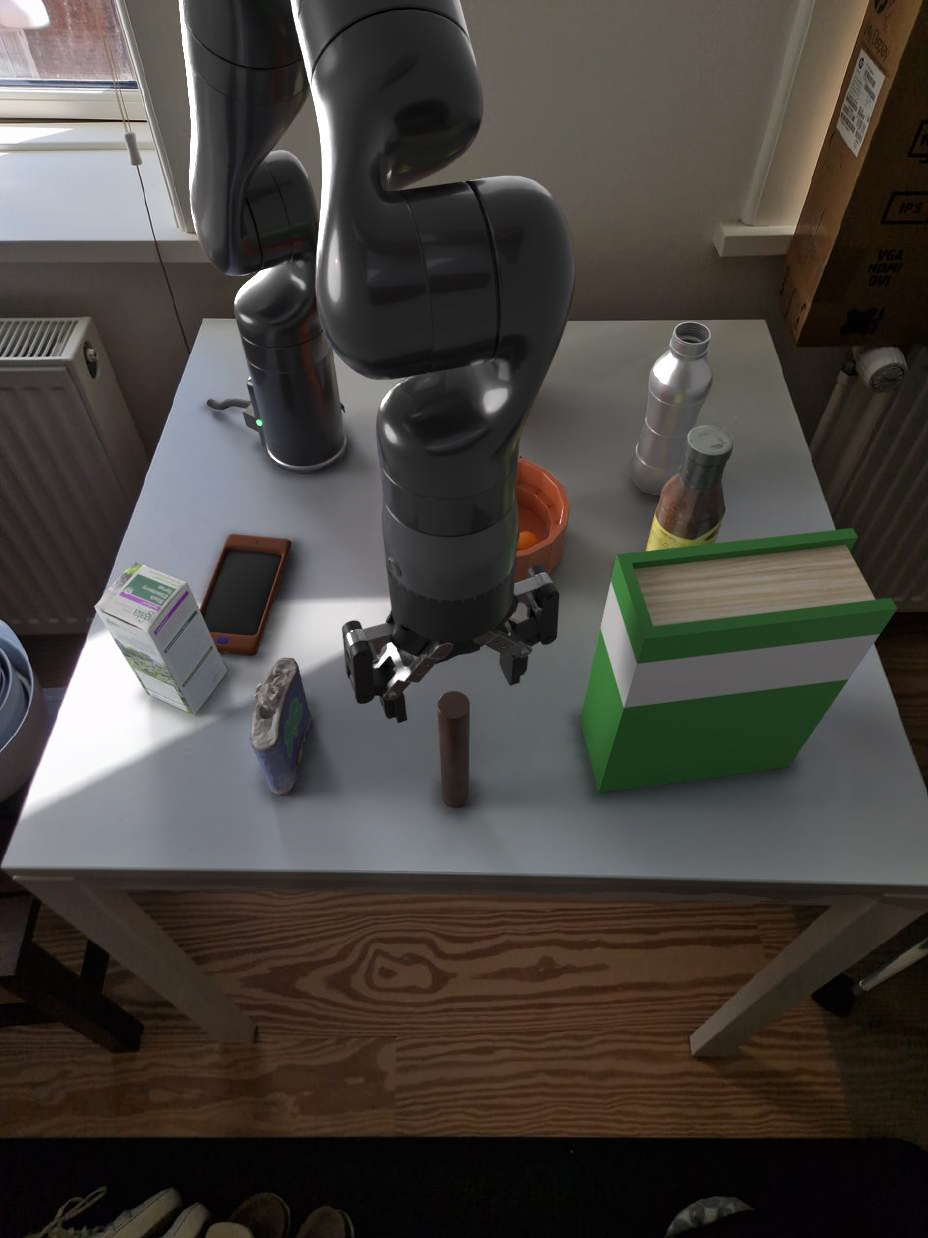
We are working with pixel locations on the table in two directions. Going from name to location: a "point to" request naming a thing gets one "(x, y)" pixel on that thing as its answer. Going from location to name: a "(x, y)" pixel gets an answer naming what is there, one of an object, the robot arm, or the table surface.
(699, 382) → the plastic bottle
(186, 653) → the syrup box
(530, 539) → the ball
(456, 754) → the stick
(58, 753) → the table surface
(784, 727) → the hardback book
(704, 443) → the sauce bottle
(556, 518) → the mixing bowl
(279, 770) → the flask
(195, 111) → the robot arm
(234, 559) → the smartphone
